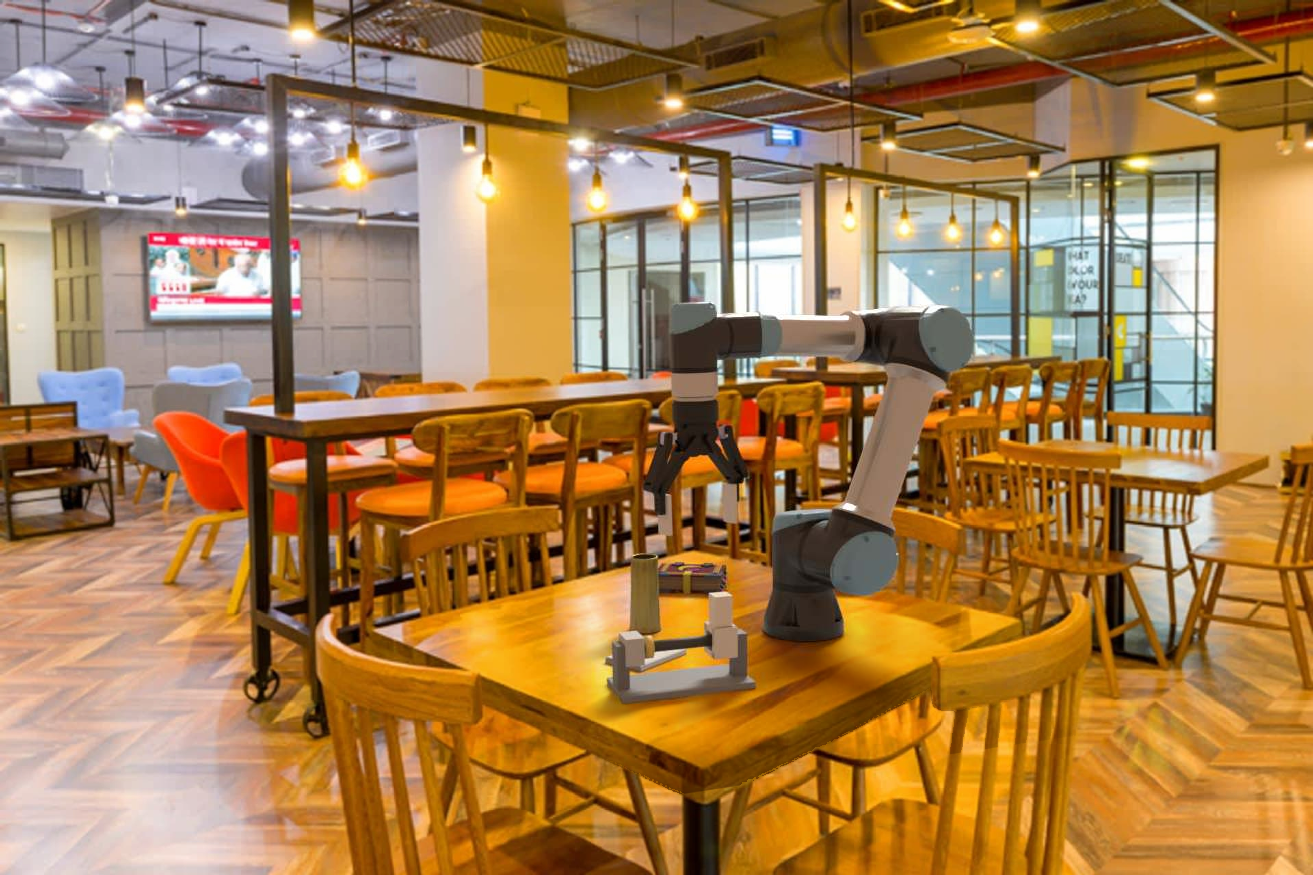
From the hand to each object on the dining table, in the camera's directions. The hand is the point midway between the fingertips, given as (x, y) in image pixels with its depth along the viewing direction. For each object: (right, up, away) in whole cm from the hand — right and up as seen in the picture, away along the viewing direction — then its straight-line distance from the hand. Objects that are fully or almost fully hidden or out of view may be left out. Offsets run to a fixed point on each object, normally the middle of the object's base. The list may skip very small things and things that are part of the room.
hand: (698, 528), depth 180 cm
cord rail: (-3, -25, -1) cm, 26 cm away
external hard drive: (-9, -25, +14) cm, 29 cm away
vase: (-9, -22, +31) cm, 39 cm away
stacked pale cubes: (+4, -21, 0) cm, 21 cm away
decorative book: (+1, -19, +64) cm, 66 cm away
